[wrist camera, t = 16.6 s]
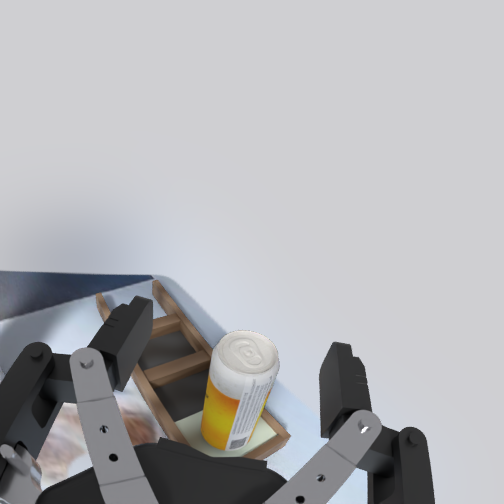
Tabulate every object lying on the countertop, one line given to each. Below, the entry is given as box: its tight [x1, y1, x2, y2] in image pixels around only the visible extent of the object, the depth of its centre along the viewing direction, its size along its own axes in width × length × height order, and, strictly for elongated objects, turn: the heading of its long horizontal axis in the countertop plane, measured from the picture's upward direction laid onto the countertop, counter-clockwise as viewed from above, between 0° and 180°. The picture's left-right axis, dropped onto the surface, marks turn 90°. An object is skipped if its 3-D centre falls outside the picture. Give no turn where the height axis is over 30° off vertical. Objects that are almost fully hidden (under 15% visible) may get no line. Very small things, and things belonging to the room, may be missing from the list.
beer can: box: [201, 330, 280, 451], centre depth 31 cm, size 6×6×15 cm
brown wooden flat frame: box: [96, 280, 291, 460], centre depth 43 cm, size 36×12×3 cm, turn 38°
